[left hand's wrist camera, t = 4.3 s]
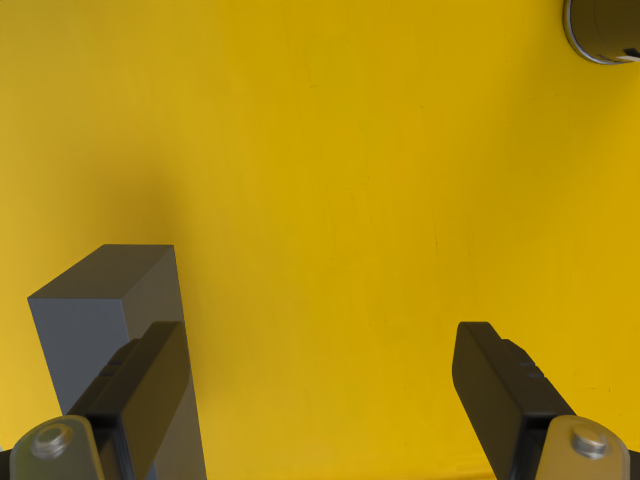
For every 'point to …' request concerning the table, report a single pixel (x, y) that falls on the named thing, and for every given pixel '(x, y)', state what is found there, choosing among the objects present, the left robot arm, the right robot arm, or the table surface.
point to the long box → (117, 335)
